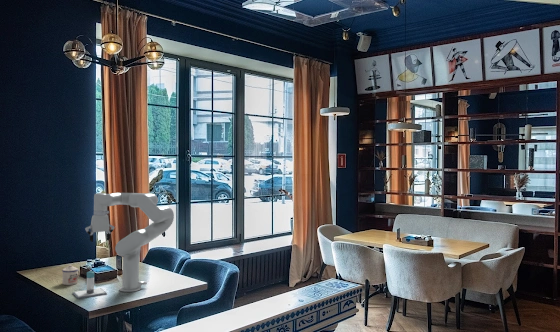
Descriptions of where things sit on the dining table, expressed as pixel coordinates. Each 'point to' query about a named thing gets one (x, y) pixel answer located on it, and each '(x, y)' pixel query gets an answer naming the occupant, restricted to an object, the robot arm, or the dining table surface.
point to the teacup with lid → (70, 275)
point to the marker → (90, 282)
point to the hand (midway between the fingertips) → (99, 240)
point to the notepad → (84, 294)
